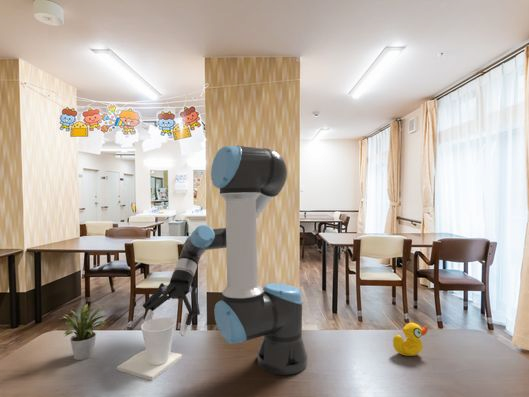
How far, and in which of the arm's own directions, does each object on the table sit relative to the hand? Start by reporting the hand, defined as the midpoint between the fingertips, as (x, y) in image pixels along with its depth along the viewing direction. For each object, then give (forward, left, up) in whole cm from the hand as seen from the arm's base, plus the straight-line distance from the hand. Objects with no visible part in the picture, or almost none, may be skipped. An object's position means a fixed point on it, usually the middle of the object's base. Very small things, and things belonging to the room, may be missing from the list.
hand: (162, 332), depth 103 cm
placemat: (-1, +7, -6) cm, 9 cm away
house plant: (+21, +13, -7) cm, 25 cm away
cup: (-4, +6, -6) cm, 9 cm away
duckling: (-73, -30, -7) cm, 80 cm away
